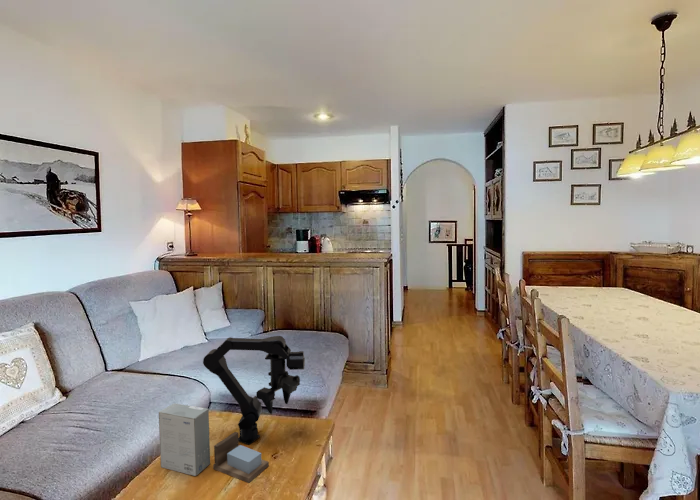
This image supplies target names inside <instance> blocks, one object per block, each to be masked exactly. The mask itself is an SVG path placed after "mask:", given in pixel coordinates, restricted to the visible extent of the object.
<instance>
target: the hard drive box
mask: <svg viewBox="0 0 700 500" xmlns="http://www.w3.org/2000/svg"><path fill="white" fill-rule="evenodd" d="M209 413H210V411H209V408H206V407H199V406H193V405H188V404H187V405H186V404H181V403H172V404H170V405H169V406H167V407H165V408H163V409H161V410H160V411H159V412H158V426H159V427H158V428H159V429H158V430H159V431H158V432H159V452H160V453H159V455H160V457H159V458H160V468H163V469H167V470H169V471H173V472H178V473H182V474H185V475H188V476H189V475H190V476H193V477H196V476H198V475H199V474H200V473H202V471H204V470H205V469H206V468H207V467H208V466H210V465H211V445H210V444H211V442H210V440H211V439H210V418H209V417H210V416H209Z"/></svg>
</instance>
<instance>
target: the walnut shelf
mask: <svg viewBox="0 0 700 500" xmlns="http://www.w3.org/2000/svg"><path fill="white" fill-rule="evenodd" d="M238 438H239V432H237V431H234V432H232V433H231V434H229V435H228V436H226V437H225V438H224V439H222V440H221V441H219V442H217V443H216V444H214V445H213V449H214V451H213V453H214V463H213V465H212V470H215V471H218V472H219V473H223V474H225V475H227V476H230V477H234V478H235V479H237V480H241V481H243V482H245V483H251V482H252V481H253V480H254V479H255V478H257V477H258V476H259V475H260V474H261V473H263V471H265V470H266V469H268V467H269V466H270V465H269V464H270V463H269V461H268V460H265V459H262V458H261V465H260V466H259V467H257V468H256V469H255V470H253V471H252V472H251V473H249V474H248V473H245V472H243V471H241V470H239V469H236V468H234V467H232V466H229V465H227V453H229V452H230V451H232V450H233V449H235V448H236V447H238V446H239V441H238Z"/></svg>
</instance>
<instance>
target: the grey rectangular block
mask: <svg viewBox="0 0 700 500" xmlns="http://www.w3.org/2000/svg"><path fill="white" fill-rule="evenodd" d="M261 459H262V452H259V451H257V450H255V449H252V448H249V447H247V446H244V445H243V444H242V445H241V444H238V447H236V448H235V449H233V450H232V451H230V452H229V453H227V465H229V466H232V467H234V468H236V469H239V470H241V471H243V472H245V473H248V474H249V473H251V472H252V471H253V470H255V469H256V468H257V467H259V466H260V465H261Z"/></svg>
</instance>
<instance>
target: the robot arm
mask: <svg viewBox="0 0 700 500" xmlns="http://www.w3.org/2000/svg"><path fill="white" fill-rule="evenodd" d="M286 342H287V341H286V339H285V337H283V336H281V335H274V336H269V337H266V338H243V337H236V338H235V337H227V338H226V339H225V340H224V341H223V343H221V344H220V345H219V346H218V347H217V348H215V349H214V348H213V349H211V350H210V351H209V352H208V353H207V354H206V355H204V357H203V360H202V364H203V367H205V368H206V369H207V370H208V372H210V373H212V374H214V375H216V376H217V377H218V378H219V380H220V381H221V382H222V384H223V385H224V387H225V388H226V389H227V390H228V392H229V393H230V394H231V396H232V397H233V398H234V400H235V401H236V403H237V404H238V406H239V409H240V413H241V415H242V416H241V418H240V419H239V421H238V424H237V425H238V428H239V436H238V442H240V443H243V444H246V445H251V444H252V443H254V442H255V441H257V439H259V438H260V437H261V434H259V432H258V431H259V429H258V423H257V422H258V421H259V419H260V416H261V414H262V410H263V407H262V404H263V403H264V406H265V409H267V412H268V414H273V409H274V408H273V407H274V403H273V402H274V401H275V399H276V397H275V396H276V392H279V390H282V396H283V401H284V404H285V405H288V404H289V400H290V397H291V396H292V395H291V394H292V393H294V392H296V391H297V389H298V386H300V385H301V378H300V376H299V375H298V374H297V375H291V374H289V372H288V371H287V370H286V368H287V369H288V370H291V371H292V370H295V371H296V370H305V364H306V363H305V360H306V359H305V354H304V353H305V351H303V350H301V351H292V350H291V348H290V346H288V344H287V343H286ZM230 351H260V352H264V353H266V356H265V357H264V359H265V360H269V363H270V365H269V366H270V368H269V369H270V371H269V372H267V373H268V374H267V375H268V376H270V382H268V387H270V388H268V387H265V386H264V387H262V388H260V389H259V390H257V391H256V392H255V393H256V395H255V396H254V397H252V396H250V395H249V394H248V393H247V391H246V390H245V389H244V388H243V386H242V385H241V383H240V382H239V380H238V379H237V378H236V377H235V375H234V374H233V373H232V370H231V369H230V368H229V367H228V364H227V363H228V362H227V359H226V357H225V355H226V354H227V353H228V352H230ZM260 400H261V401H262V402H261V401H260Z"/></svg>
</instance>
